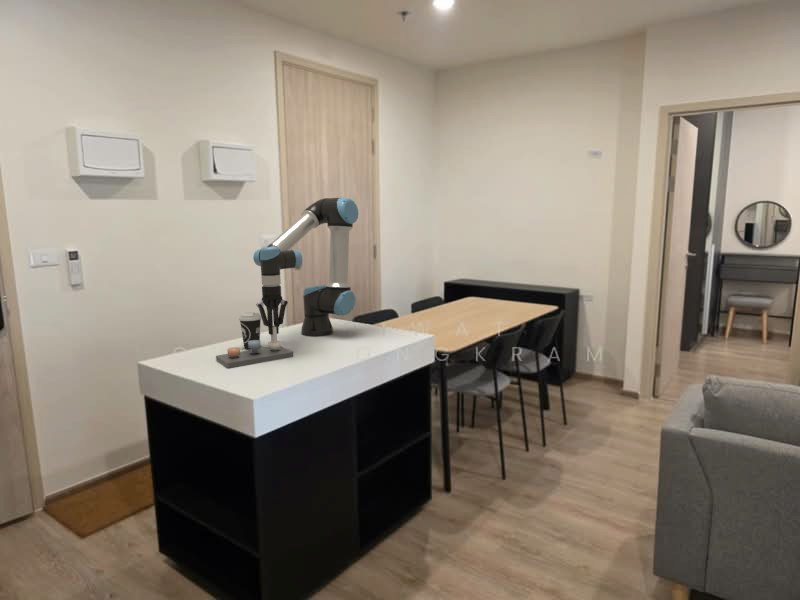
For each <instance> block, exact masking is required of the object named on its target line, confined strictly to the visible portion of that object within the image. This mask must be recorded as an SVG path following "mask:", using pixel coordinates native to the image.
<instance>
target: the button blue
mask: <svg viewBox="0 0 800 600" xmlns="http://www.w3.org/2000/svg"><path fill="white" fill-rule="evenodd" d="M261 344H262V343H261V339H260V340H250V341H248V348H251V349H252V352H258V349H260V348H262V345H261Z"/></svg>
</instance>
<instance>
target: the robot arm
mask: <svg viewBox="0 0 800 600" xmlns="http://www.w3.org/2000/svg"><path fill="white" fill-rule="evenodd" d="M358 218H359V209H358V206H357V204H356V202H355V201H354V200H353V199H351V198H349V197H330V198H329V197H326V198H325V197H324V198H322V199H319V200H316V201H315V202H313V203H311V204H310V205H309V206H308V207H306V208H305V209H304V210H303V211H302V212H301V216H300V217H298V218H297V220H295V221H294V222H293V223H292V224H291V225H289V226H288V227H287V228H286V229H285V230H284V231H283V232H282V233H280V234H279V235H278V236H277V237H276V238H275V239H274V240H273V241H272V242H271V243H270V244H269V245H267V246H263V247H261V248H259V249H257V250H255V252H254V253H253V258H252V259H253V262H254V264H255V265H256V266H259V267H260V273H261V274H260V275H261V278H260V279H261V285H262V286H261V295H262V298H261V301H260V302H257V303H256V307H257V308H258V311H259V314H260V316H261V320H262V323H263V324H262V325H264V326H266V327H267V329H268V335H270V342H273V343H276V342H277V341H278V334H279V333H280V332H279V327H280V325H283V323H284V319H285V313H286V307H287V305H288V303H289V301H287V300H285V299H283V296H282V287H281V284H282V282H281V280H282V279H281V270H287V269H296V268H299V267H300V266H302V263H303V255H302V253H301V251H300V250H297V249H292V248H293V247H294V246H295V245H296V244H297V243H298V242H299V241H301V240H302V239H303V238H304V237H305V236H306V235H307V234H308V233H310V231H311V230H313V229H317V228H318V227H319V226H321V225H323V224H327V228H328V229H329V231H330V239H329V241H330V243H329V245H330V246H329V269H328V270H329V275H328V278H329V280H328V283H327V284H322V285H321V284H320V285H313V286H307V287H305V288H304V289H303V298H302V299H303V311H304V312H303V313H304V317H303V322H302V325H301V331H300V332H301V335H303V336H306V337H323V336H328V335H331V334H333V333H334V330H333V329H334V327H333V326H332V322H331V319H330V317H329V316H330V315H336V316H347V315H349V314H350V313H351V312H352V311H353V309H354V307H355V306H356V295H355V294H354V292H353V291H351V287H352V286H351V285H350V284H349V282H348V277H349V250H350V249H349V247H350V246H349V243H350V231H351V230H352V229H353V228H354V227H353V226H354V224H355V223H356V222H357V220H358ZM279 306H280V307H279ZM264 307H266V309H265V308H264ZM265 310H266V311H265ZM266 313H267V315H266ZM329 314H330V315H329Z"/></svg>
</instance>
